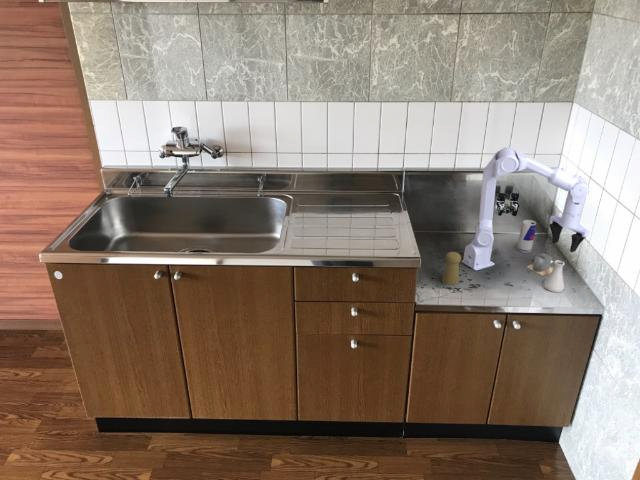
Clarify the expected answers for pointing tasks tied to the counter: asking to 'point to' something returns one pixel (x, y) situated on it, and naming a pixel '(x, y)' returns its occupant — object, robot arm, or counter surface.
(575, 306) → the counter surface
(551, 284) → the flask
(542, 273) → the coaster
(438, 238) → the counter surface
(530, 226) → the energy drink
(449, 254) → the pepper shaker
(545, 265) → the plug
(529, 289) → the counter surface
